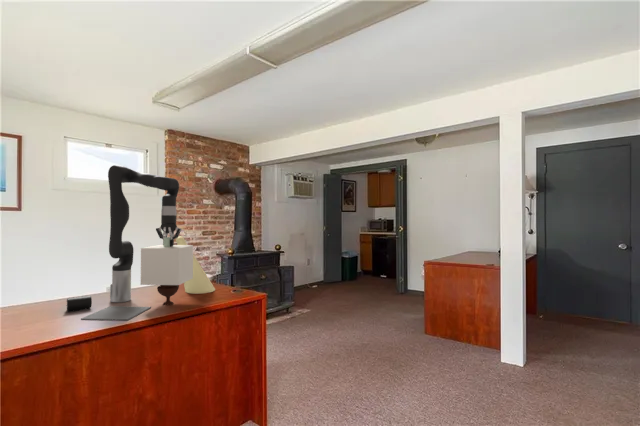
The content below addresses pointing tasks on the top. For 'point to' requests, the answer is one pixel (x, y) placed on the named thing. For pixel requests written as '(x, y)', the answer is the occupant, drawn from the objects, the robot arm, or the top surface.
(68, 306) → the end cap
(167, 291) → the ice cream bowl
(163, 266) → the cover
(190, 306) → the top surface
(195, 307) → the top surface
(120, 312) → the mat
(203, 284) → the cone light
